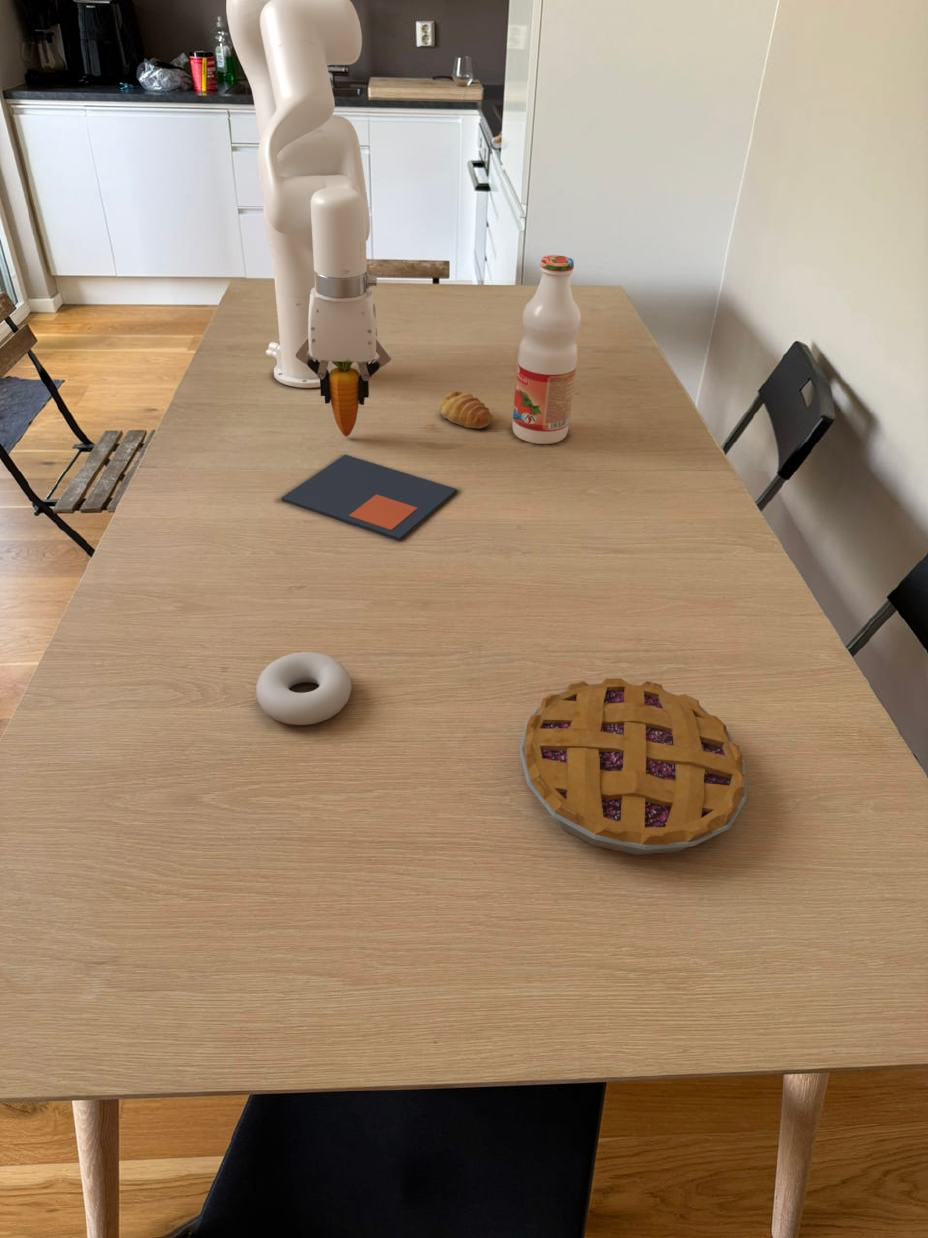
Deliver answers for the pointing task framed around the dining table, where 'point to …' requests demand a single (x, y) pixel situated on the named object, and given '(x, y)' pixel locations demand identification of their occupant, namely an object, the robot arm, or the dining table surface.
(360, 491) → the mat
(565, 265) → the fruit juice
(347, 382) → the carrot
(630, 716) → the pie
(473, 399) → the pastry
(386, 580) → the dining table surface
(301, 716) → the donut
